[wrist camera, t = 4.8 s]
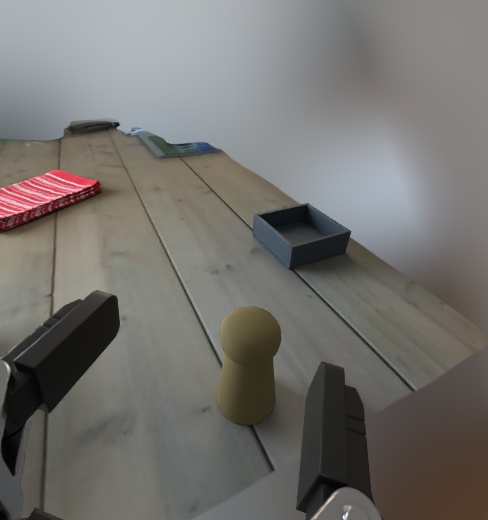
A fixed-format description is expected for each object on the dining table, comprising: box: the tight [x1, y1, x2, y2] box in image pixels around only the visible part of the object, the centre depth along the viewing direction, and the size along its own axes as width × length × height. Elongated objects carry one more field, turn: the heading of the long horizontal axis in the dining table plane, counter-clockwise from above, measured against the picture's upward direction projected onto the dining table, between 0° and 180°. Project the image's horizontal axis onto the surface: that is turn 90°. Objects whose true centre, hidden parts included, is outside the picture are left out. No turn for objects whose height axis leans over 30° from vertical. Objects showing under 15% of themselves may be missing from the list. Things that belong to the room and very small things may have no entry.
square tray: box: [253, 203, 351, 269], centre depth 54 cm, size 12×12×4 cm
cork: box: [217, 306, 281, 425], centre depth 28 cm, size 6×6×11 cm
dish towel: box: [0, 170, 102, 232], centre depth 65 cm, size 17×24×3 cm
